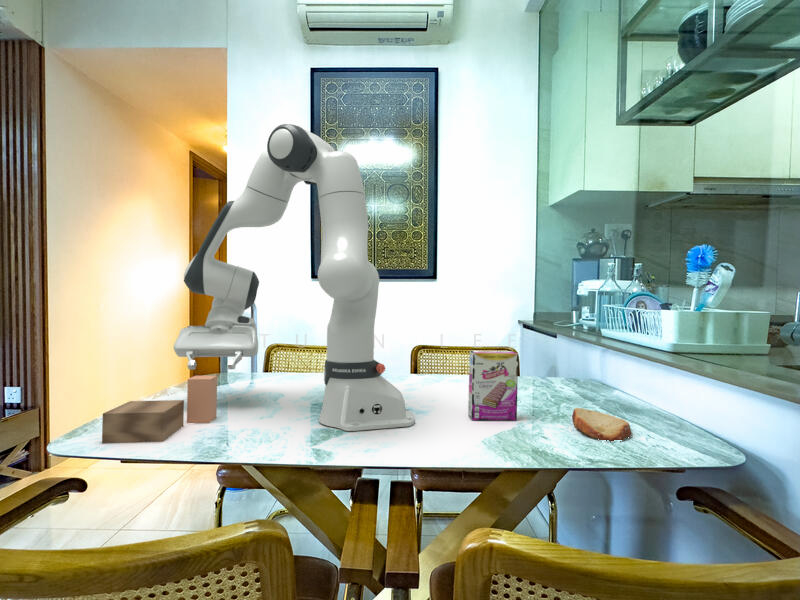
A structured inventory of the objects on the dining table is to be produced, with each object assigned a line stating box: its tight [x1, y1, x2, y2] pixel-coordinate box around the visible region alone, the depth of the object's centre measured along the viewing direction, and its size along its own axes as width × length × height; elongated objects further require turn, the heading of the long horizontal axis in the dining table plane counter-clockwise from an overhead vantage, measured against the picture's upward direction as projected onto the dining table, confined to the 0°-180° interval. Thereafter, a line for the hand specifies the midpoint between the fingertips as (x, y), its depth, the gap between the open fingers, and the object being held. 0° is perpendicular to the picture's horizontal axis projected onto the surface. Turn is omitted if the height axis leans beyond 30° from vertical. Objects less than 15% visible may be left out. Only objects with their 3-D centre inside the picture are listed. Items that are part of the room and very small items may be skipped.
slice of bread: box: [571, 407, 633, 441], centre depth 98 cm, size 18×18×4 cm
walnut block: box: [101, 399, 185, 445], centre depth 88 cm, size 11×11×6 cm
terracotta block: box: [186, 375, 218, 424], centre depth 99 cm, size 5×5×10 cm
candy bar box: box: [467, 350, 519, 421], centre depth 104 cm, size 11×5×16 cm, turn 92°
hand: (211, 367), depth 106 cm, fingers open, 8 cm apart
